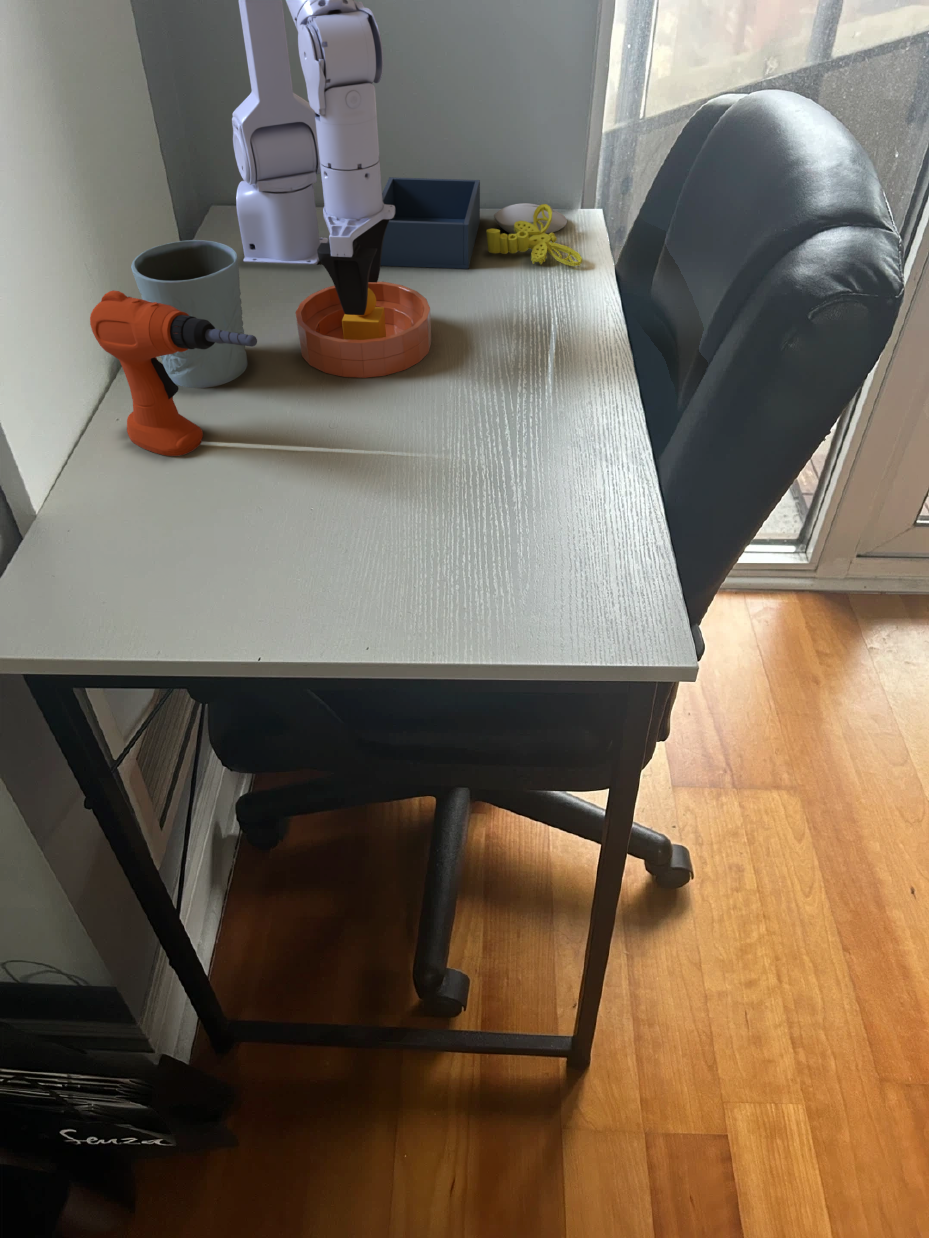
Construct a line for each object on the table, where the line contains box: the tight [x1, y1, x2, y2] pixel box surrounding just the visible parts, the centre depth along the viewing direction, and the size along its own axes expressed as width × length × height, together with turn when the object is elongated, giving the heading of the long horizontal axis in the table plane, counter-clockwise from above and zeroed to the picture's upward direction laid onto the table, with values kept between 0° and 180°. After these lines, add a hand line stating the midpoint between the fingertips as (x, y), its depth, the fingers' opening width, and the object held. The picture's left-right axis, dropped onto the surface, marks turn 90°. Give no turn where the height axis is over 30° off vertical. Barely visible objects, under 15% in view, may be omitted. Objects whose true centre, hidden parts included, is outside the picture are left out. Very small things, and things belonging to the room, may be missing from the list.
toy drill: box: [89, 289, 258, 457], centre depth 84 cm, size 5×19×15 cm, turn 62°
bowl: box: [294, 281, 432, 379], centre depth 102 cm, size 14×14×4 cm
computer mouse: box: [493, 202, 568, 235], centre depth 126 cm, size 6×10×3 cm, turn 103°
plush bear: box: [342, 283, 386, 340], centre depth 101 cm, size 4×3×7 cm
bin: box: [380, 176, 481, 270], centre depth 122 cm, size 12×15×6 cm
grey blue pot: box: [130, 239, 248, 389], centre depth 96 cm, size 10×10×12 cm
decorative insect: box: [485, 203, 583, 267], centre depth 119 cm, size 13×3×10 cm
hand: (361, 296), depth 99 cm, fingers open, 7 cm apart
